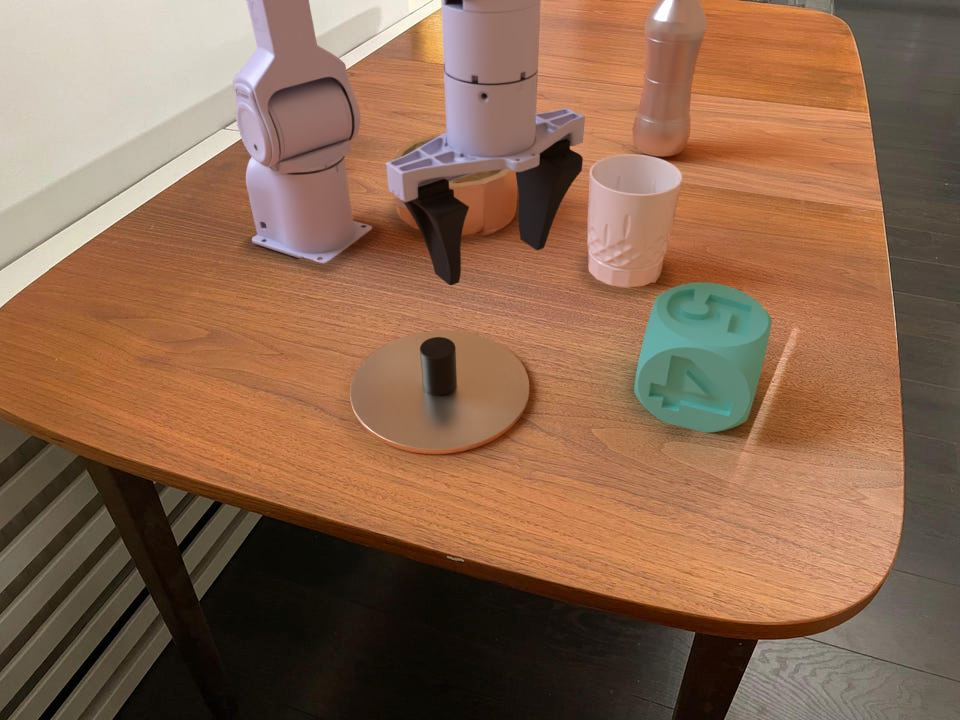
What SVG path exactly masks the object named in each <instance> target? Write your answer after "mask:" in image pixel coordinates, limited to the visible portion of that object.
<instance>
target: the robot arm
mask: <svg viewBox="0 0 960 720" xmlns="http://www.w3.org/2000/svg"><path fill="white" fill-rule="evenodd" d="M541 2H542V1H541V0H440V3H441V4H440V5H441V6H440V7H441V25H442V26H441V30H442V31H441V32H442V56H443V57H442V58H443V83H444V103H445V104H444V106H445V108H444V110H445V132H443V133H441V134H442V135H440V136H438V137H437V138H435V139H433V140H431V141H430V142H428V143H426V144H424V145H423V146H421V147H419V148H418V149H416V150H414V151H412V152H411V153H409V154H407V155H405V156H403V157H400V158H398V159H395V160H393V159H392V160H390V161H387V162H385V167H386V174H387V175H386V176H387V177H386V178H387V189H388V191H389V192H390V193H391V194H393V195H394V197H395V196H396V197H398V198H400V199H401V200H402V201H403V203H404V204H405V206H406V207H407V209H408V210H409V212H410V213H411V215H412V217H413V218H414V220H415V222H416V224H417V226H418V228H419V232H420V234H421V236H422V238H423V241H424V243H425V245H426V248H427V251H428V253H429V258H430V260H431V264H432V266H433V270H434V273H435V275H436V276H437V277H438V278H440V279H441V280H442V281H444V282H445V283H446V284H447V285H448V286H454V285H457V284H459V282H460V279H461V274H462V257H461V254H462V253H461V245H462V244H461V243H462V236H463V235H462V230H463V225H464V221H465V218H466V215H467V212H468V209H469V207H468V206H467V205H466V204H464V203H463V202H461V201H460V200H458V199H457V198H455V197H454V190H453V189H450V188H449V182H451V181H454V180H457V179H460V178H463V177H466V176H469V175H472V174H475V173H478V172H485V171H493V170H500V169H509V170H511V171H514V172H516V179H517V199H518V212H517V213H518V214H517V216H518V217H517V219H518V232H519V238H520V240H521V241H522V242H524V243H525V244H526V245H528V246H529V247H531V248H533V249H534V250H536V251H540V250H543V249H544V248H545V246H546V243H547V241H548V237H549V234H550V231H551V229H552V225H553V222H554V220H555V217H556V215H557V212H558V210H559V208H560V205H561V203H562V201H563V199H564V197H565V195H566V194H567V192H568V190H569V189H570V187H571V186H572V184H573V183H574V181H575V180H576V179H577V178H578V176H579V175H580V173H582V171H583V161H584V157H583V156H582V154H580V153H578V152H577V151H575V150H572V149H571V147H574V146H579V145H580V144H583V143H584V134H585V123H586V122H585V121H586V116H585V115H583V114H580V113H579V112H577V111H574V110H572V109H570V108H568V107H564V108H561V109H557V110H556V109H555V110H551V111H546V112H539V113H537V103H538V102H537V100H538V81H539V80H538V77H539V57H540V55H539V52H540V31H541V29H540V28H541ZM246 4H247V8H248V13H249V18H250V22H251V26H252V29H253V34H254V39H255V43H256V48H255V50H254V51H253V53H252V54H251V56H250V57H249V58H248V60H247V61H246V62H245V63H244V64H243V66H242V67H241V68H240V69H239V70H238V72H237V73H236V74H235V76H234V77H233V79H232V83H233V93H234V98H235V105H236V107H235V109H236V110H235V118H236V119H235V120H236V125H237V129H238V132H239V136H240V138H241V141H242V143H243V145H244V147H245V149H246V151H247V153H248V154H249V155H250V158H249V161H248V164H247V167H246V171H245V186H246V190H247V195H248V199H249V204H250V208H251V211H252V217H253V222H254V225H255V230H256V234H255V235H254V236H253V237H252V238H251V243H253V244H254V245H257V246H261V247H264V248H266V249H269V250H273V251H275V252H279V253H282V254H285V255H287V256H291V257H294V258H298V259H301V258H305V259H308V260H311V261H314V262H317V263H320V264H326V263H328V262H330V261H331V260H333V259H335V258H336V257H337V256H338V255H339V254H341V253H342V252H343V251H345V250H346V249H348V248H349V247H350V246H352V244H354V243H356V242H357V241H358V240H359V239H361V238H362V237H363V236H365V235H366V234H367V233H369V232H370V231H371V230H372V229H373V226H372V225H370V224H366V223H362V222H359V221H356V220H354V218H353V217H354V216H353V209H352V202H351V201H352V200H351V194H350V185H349V177H348V169H347V164H346V163H347V162H346V156H347V154H350V153H352V147H351V142H353V141H354V140H355V139H356V138H357V137H358V135H359V131H360V127H361V110H360V106H359V102H358V99H357V96H356V93H355V92H354V90H353V88H352V85H351V81H350V78H349V75H348V71H347V70H348V69H347V67H346V63H345V62H344V61H343V60H342V59H341V58H340V57H338V56H337V55H335V54H333V53H332V52H330V51H329V50H327V49H325V48H323V47H321V46H319V44H318V43H317V38H316V32H315V27H314V22H313V21H314V20H313V16H312V10H311V5H310V0H246ZM364 226H365V227H364ZM320 258H322V259H320Z"/></svg>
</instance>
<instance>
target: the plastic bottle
mask: <svg viewBox="0 0 960 720" xmlns="http://www.w3.org/2000/svg"><path fill="white" fill-rule="evenodd" d="M707 26H708V22H707V16H706V13H705V11H704V7H703V5H702V4H701V2H700V0H657V1H656V2H655V4H654V5H653V6H652V7H651V9H650V10H649V12H648V14H647V16H646V19H645V21H644V74H643V85H642V89H641V95H640V99H639V104H638V110H637V112H636V115H635V117H634V121H633V125H632V140H633V141H632V142H633V143H634V146H635V147H636V149H637V150H638V151H639V152H640V153H643V154H644V155H647V156H652V157H672V156H676V155H678V154H680V153H681V152H682V151H683V150H684V149H685V148H686V147H687V144H688V142H689V139H690V137H691V115H690V112H691V101H692V100H691V99H692V86H693V82H694V75H695V71H696V67H697V61H698V58H699V54H700V51H701V47H702V45H703V41H704V38H705V34H706V30H707Z"/></svg>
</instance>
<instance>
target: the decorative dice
mask: <svg viewBox="0 0 960 720" xmlns="http://www.w3.org/2000/svg"><path fill="white" fill-rule="evenodd" d="M772 323H773V319H772V317H771V315H770V314H769V313H768V311H767V310H766V309H765V307H764V306H763V305H762V304H761V303H760V302H759V301H757V300H756V299H755V298H754V297H752V296H751V295H749V294H748V293H746V292H744V291H742V290H739V289H737V288H734V287H732V286H728V285H725V284H719V283H713V282H698V281H697V282H687V283H682V284H679V285H675V286H673V287H671V288H669V289H666V290H664V291H663V292H661V293H660V294H658V295H657V296H656V297H655V300H654V302H653V305H652V308H651V311H650V314H649V317H648V320H647V325H646V328H645V331H644V334H643V335H644V336H643V340H642V344H641V348H640V351H639V352H640V354H639V358H638V361H637V367H636V373H635V379H634V387H633V388H634V390H633V393H634V395H635V397H636V398H637V401H639V403H640V404H641V405H642V406H643V408H645V410H647V412H648V413H650V414H651V415H652V416H653V417H654V418H656V419H657V420H659V421H660V422H662V423H665V424H669V425H673V426H677V427H681V428H686V429H689V430H694V431H697V432H702V433H718V432H724V431H726V430H730V429H733V428H735V427H736V428H737V427H738V426H740V425H742V424H744V423H746V422H747V420H748V418H749V416H750V413H751V410H752V407H753V403H754V400H755V397H756V393H757V389H758V386H759V381H760V377H761V374H762V370H763V367H764V361H765V357H766V353H767V349H768V345H769V339H770V334H771V329H772Z"/></svg>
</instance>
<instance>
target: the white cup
mask: <svg viewBox="0 0 960 720" xmlns="http://www.w3.org/2000/svg"><path fill="white" fill-rule="evenodd" d="M683 179H684V176H683V173H682V171H681V170H680V168H678V167H677V166H676V165H674V164H673V163H671V162H670V161H667V160H665V159H662V158H659V157H657V156H653V155H647V154H638V153H637V154H634V153H627V154H626V153H625V154H624V153H623V154H616V155H610V156H607V157H603V158H601V159H599V160H597V161H595V162H594V163H593V164H592V165H591V167H590V169H589V176H588V180H589V181H588V204H587V243H586V245H587V250H588V251H587V267H588V268H587V269H588V272H589V273H590V274H591V275H592V276H593V277H594V278H595V279H596V280H598V281H600V282H603V283H605V284H607V285H609V286H613V287H619V288H628V289H629V288H636V287H637V288H638V287H645V286H647V285H649V284H651V283H653V284H656V283H657V281H658V280H659V278H660V276H661V273H662V269H663V265H664V260H665V255H666V253H667V250H668V246H669V241H670V238H671V234H672V231H673V226H674V221H675V216H676V213H677V212H676V211H677V207H678V202H679V198H680V193H681V189H682V185H683V181H684V180H683Z"/></svg>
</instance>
